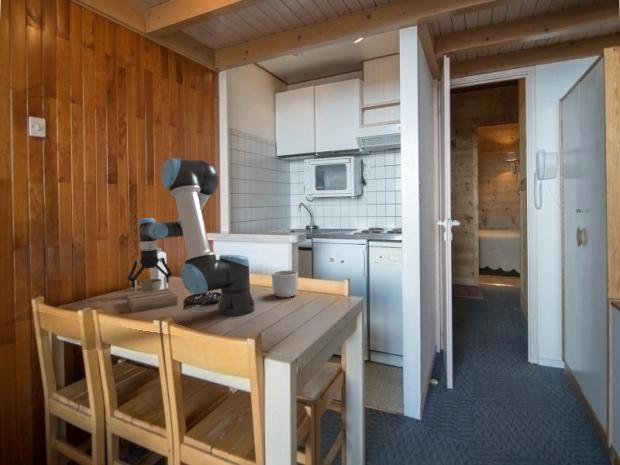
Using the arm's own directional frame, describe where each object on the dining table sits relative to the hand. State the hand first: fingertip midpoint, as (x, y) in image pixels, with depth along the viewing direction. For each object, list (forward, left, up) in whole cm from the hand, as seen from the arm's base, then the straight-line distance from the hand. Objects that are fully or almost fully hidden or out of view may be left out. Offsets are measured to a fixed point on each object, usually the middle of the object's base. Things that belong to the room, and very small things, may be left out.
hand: (151, 291), depth 175 cm
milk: (+12, -6, -2) cm, 13 cm away
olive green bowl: (0, 0, -2) cm, 2 cm away
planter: (-43, -52, -2) cm, 68 cm away
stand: (-18, +3, -2) cm, 18 cm away
